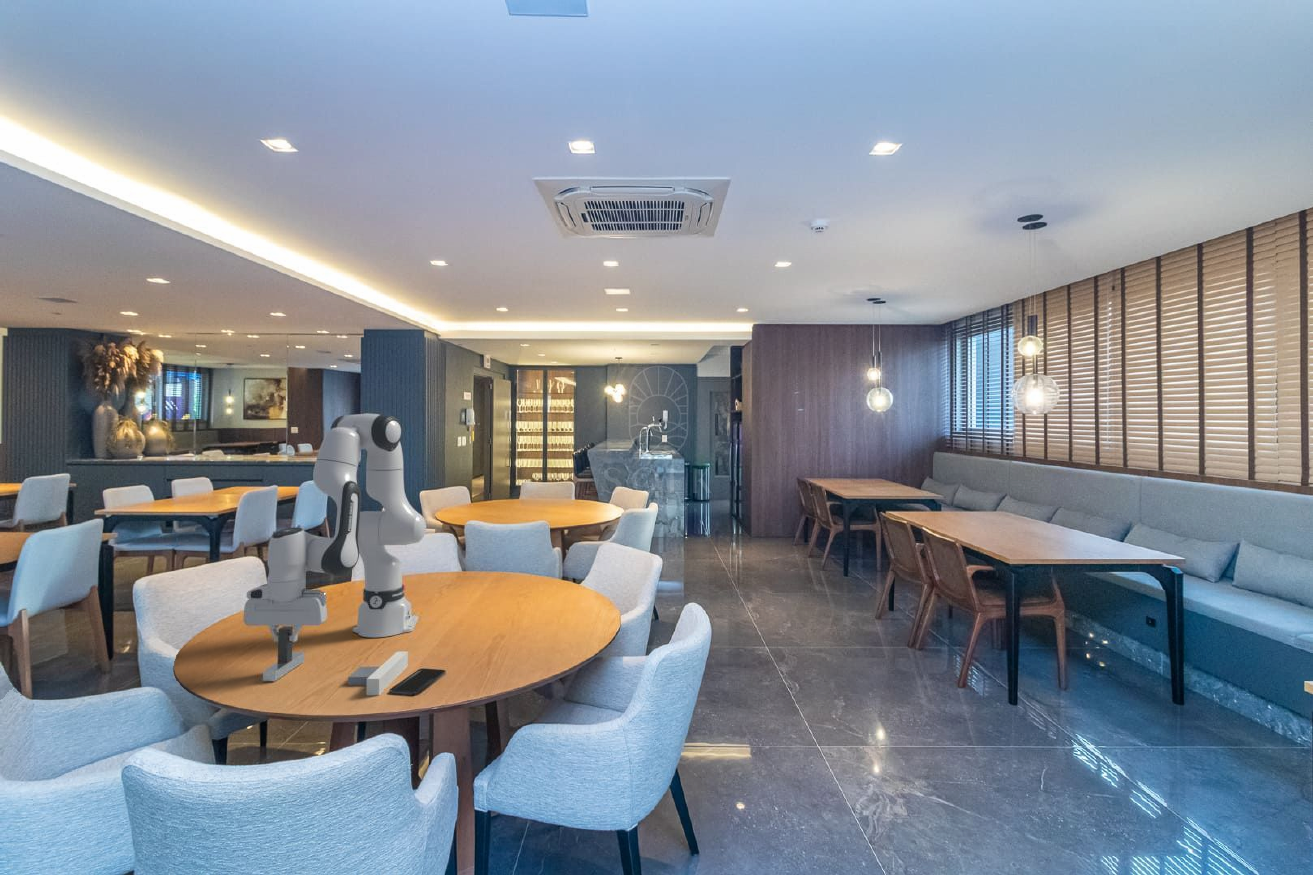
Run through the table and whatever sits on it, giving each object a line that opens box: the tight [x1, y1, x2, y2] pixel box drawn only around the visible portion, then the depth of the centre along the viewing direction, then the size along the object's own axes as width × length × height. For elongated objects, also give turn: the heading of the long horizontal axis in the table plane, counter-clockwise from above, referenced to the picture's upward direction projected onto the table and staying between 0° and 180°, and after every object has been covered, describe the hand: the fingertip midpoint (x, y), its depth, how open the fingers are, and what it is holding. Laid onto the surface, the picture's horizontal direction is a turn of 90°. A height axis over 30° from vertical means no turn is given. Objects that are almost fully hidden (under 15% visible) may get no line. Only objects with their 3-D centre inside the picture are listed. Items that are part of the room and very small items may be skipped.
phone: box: [388, 667, 447, 697], centre depth 154 cm, size 8×1×15 cm
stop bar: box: [366, 651, 409, 696], centre depth 155 cm, size 19×3×4 cm, turn 3°
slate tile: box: [347, 666, 380, 686], centre depth 155 cm, size 7×7×2 cm
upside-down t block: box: [262, 625, 306, 682], centre depth 160 cm, size 14×3×12 cm, turn 3°
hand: (285, 641), depth 160 cm, fingers closed on upside-down t block, 2 cm apart
